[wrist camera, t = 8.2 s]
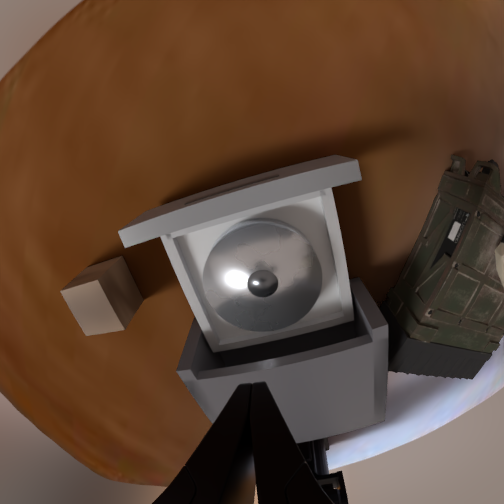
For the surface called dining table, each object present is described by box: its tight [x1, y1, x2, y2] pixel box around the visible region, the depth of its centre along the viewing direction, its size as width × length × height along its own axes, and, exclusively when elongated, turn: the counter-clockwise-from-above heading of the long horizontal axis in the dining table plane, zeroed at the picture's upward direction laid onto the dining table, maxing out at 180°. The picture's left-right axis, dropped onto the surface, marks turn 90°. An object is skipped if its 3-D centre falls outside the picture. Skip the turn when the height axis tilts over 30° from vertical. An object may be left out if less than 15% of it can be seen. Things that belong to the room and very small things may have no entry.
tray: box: [118, 155, 362, 353], centre depth 17 cm, size 11×13×4 cm
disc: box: [203, 218, 322, 332], centre depth 17 cm, size 7×7×2 cm
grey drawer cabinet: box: [176, 277, 388, 443], centre depth 20 cm, size 11×13×6 cm
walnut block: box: [61, 256, 144, 336], centre depth 19 cm, size 4×4×4 cm
